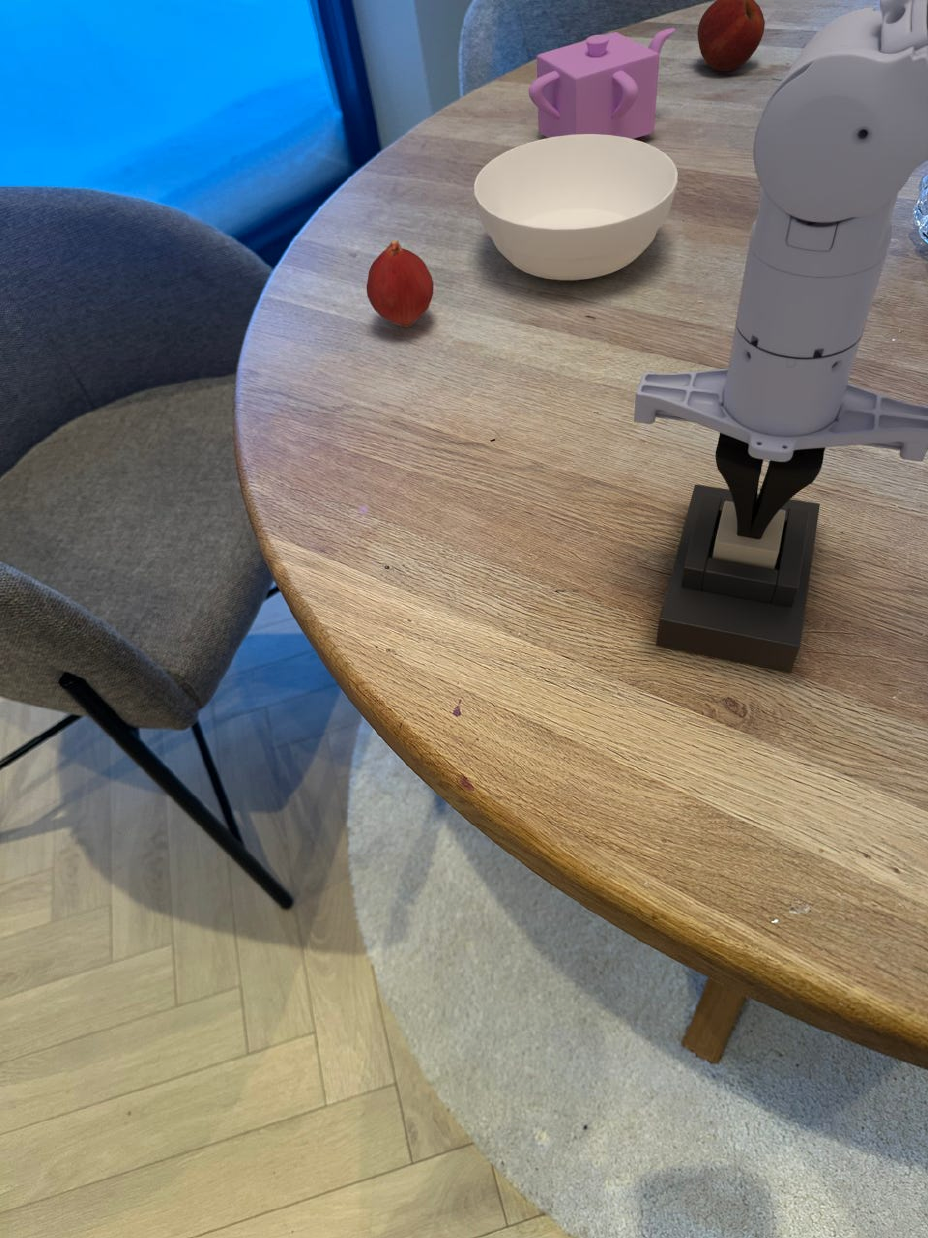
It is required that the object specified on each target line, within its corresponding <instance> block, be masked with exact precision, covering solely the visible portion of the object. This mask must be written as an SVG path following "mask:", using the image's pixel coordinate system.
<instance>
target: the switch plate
mask: <svg viewBox="0 0 928 1238" xmlns="http://www.w3.org/2000/svg"><path fill="white" fill-rule="evenodd" d="M758 495H759V493H757V498H758ZM725 501H730V502H733V499H732V495H731V493H730V490H729V488H728V489H727V488H722V487H717V486H716V487H715V486H710V485H704V484H703V485H701V484H694V487H693V490H692V495H691V498H690V502H689V506H688V509H687V514H686V517H685V521H684V525H683V529H682V532H681V535H680V540H679V543H678V548H677V551H676V555H675V559H674V562H673V566H672V569H671V573H670V577H669V581H668V585H667V589H666V593H665V596H664V600H663V604H662V608H661V611H660V616H659V619H658V627H657V635H656V643H655V645H656V646H658V647H662V648H668V649H672V650H676V651H681V652H686V653H691V654H695V655H700V656H706V657H710V658H714V659H719V660H720V659H721V660H724V661H728V662H734V663H739V664H743V665H749V666H752V667H757V668H762V669H767V670H770V671H776V672H781V673H786V674H792V671H793V669H794V667H795V666H794V665H795V663H796V660H797V658H798V655H799V652H800V649H801V645H802V637H803V631H804V623H805V616H806V607H807V600H808V595H809V593H808V592H809V586H810V581H811V579H810V578H811V574H812V573H811V571H812V565H813V556H814V550H815V544H816V536H817V529H818V521H819V514H820V506H821V504H820V503H816V502H810V501H804V500H798V499H792V498H791V499H790V500H789V501H787V502H786V503H785V505H784V506H783V507H782V508H781V509H780V510H785V511H786V513H785V519H784V525H783V531H782V537H781V543H780V548H779V554H778V557H777V561H776V564H775V568H774V569H770V568H764V567H759V566H753V565H748V564H742V563H736V562H731V561H725V560H720V559H714V558H712V556H713V551H714V546H715V541H716V536H717V532H718V528H719V523H720V519H721V515H722V510H723V506H724V502H725Z"/></svg>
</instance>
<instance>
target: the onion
mask: <svg viewBox="0 0 928 1238" xmlns="http://www.w3.org/2000/svg"><path fill="white" fill-rule="evenodd" d="M366 282H367V283H366V295H367V298H368V300H369V303H370V305H371V306H372V308H373V309H374V311H375V312H376V313H377V315H379V316H380V317H382V318H383V319H385V320H387V321H389V322H390V323H393V324H396V325H397V326H401V327H403V328H410V327H411V326H412V325H414V324H415V323H416V321H417V320H419V319H420V318H421V317H422V316H423V315H424V314H425V312H426V311H427V310H428V309H429V308H430V304H431V302H432V299H433V296H434V287H435V285H434V280H433V276H432V273H430V270H429V268H428V267H427V264H426V263H425V262H424V260H423V259H422V258H421V257H419V255H417V254H415V253H414V252H413V251H411V250H409V249H407V248H403V247H402V246H401V245H400V242H399V240H392V241H390V243H389V245H387V247H386V248H385V249H384V250H383V251H382V252H381V253H380V254H378V256H377V257H376V259H375V260H374V261H373V263H372V264H371V265H370V268H369V271H368V276H367V281H366Z"/></svg>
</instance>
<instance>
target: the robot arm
mask: <svg viewBox="0 0 928 1238" xmlns="http://www.w3.org/2000/svg"><path fill="white" fill-rule="evenodd" d="M755 130H756V131H755V134H754V138H753V139H754V140H753V148H752V149H753V151H752V152H753V154H752V156H753V165H754V166H753V167H754V170H755V174H756V178H757V180H758V183H759V184H760V190H759V196H758V208H757V215H756V218H755V220H754V222H753V223H752V226H751V230H750V234H749V235H750V236H749V241H748V249H747V254H746V260H745V265H744V270H743V271H744V272H743V277H742V283H741V289H740V295H739V301H738V307H737V313H736V318H735V323H734V324H735V325H734V331H733V337H732V344H731V349H730V354H729V360H728V366H727V368H720V369H719V368H717V369H708V370H697V371H696V370H695V371H685V372H671V373H669V372H666V373H665V372H648V371H644V372H643V373H642V375H641V378H640V380H639V384H638V386H637V389H636V392H635V399H634V400H635V401H634V415H633V422H635V423H638V424H645V425H646V424H647V425H652V424H654V423H655V421H656V419H657V418H658V419H666V420H672V421H673V420H674V421H681V422H687V423H688V422H689V423H694V424H696V425H699V426H702V427H704V428H707V429H710V430H713V431H715V432H718V433H719V435H718V439H717V440H718V441H717V445H716V448H715V453H714V454H715V455H714V456H715V464H716V468H717V471H718V472H719V473H720V475H721V476H722V478H723V480H724V481H725V483H726V485H727V487H728V490H730V493H731V495H732V499H733V502H734V506H735V511H736V517H737V535H738V536H742V537H748V538H754V539H761V538H762V536H763V534H764V532H765V530H766V528H767V526H768V525H769V523H770V522H771V520H772V519H773V518H774V516H775V515H776V514H777V513H778V511H779V510H780V509H781V508H782V507H783V506H784V505H785V503H786V502H787V501H789V500H790V499H792V498H793V497H795V495H797V494H798V493H800V491H802V490H803V489H805V488H806V487H808V486H810V485H811V484H813V482H815V480H816V478H817V477H818V476H819V474H820V472H821V470H822V467H823V464H824V455H825V450H826V448H835V447H848V446H849V447H850V446H864V447H873V448H878V449H879V448H881V449H887V450H896V451H899V454H898V455H899V457H900V458H901V459H902V460H907V461H915V462H923V461H924V460H925V457H926V455H927V453H928V405H923V404H918V403H917V404H916V403H912V402H908V401H905V400H902V399H901V400H900V399H897V398H893V397H891V396H888V395H885V394H883V393H880V392H876V391H873V390H870V389H867V388H864V387H861V386H857V385H855V384H851V383H849V380H850V378H851V374H852V370H853V367H854V364H855V361H856V356H857V355H858V351H859V347H860V344H861V342H862V338H863V334H864V331H865V328H866V323H867V320H868V318H869V314H870V311H871V308H872V304H873V302H874V298H875V294H876V291H877V288H878V285H879V283H880V278H881V276H882V271H883V268H884V265H885V262H886V258H887V256H888V252H889V248H890V244H891V242H892V235H893V229H892V228H893V227H892V216H893V212H894V210H895V206H896V203H897V200H898V196H899V192H900V191H901V190H902V189H903V188H904V186H905V185H906V183H907V182H908V181H909V178H910V177H911V175H912V174H913V173H914V171H915V170H917V168H918V167H920V166H921V165H922V164H924V163H925V162H928V0H879V9H878V10H877V9H876V6H866V7H863V8H859V9H855V10H851V11H849V12H847V13H844V14H842V15H840V16H838V17H836V18H835V19H832V20H831V21H830V22H828V23H827V24H825V25H824V26H823V27H822V28H821V29H819V30H818V31H817V32H816V33H815V34H814V35H813V36H812V37H811V38H810V40H808V42H807V44H806V45H804V48H803V49H802V50H801V52H800V53H799V55H798V56H797V58H796V59H795V61H794V62H793V64H792V65H791V67H790V68H789V70H788V71H787V72H786V74H785V75H784V77H783V79H782V80H781V81H780V82H779V84H778V86H777V88H776V89H775V90H774V91H773V93H772V94H771V96H770V98H769V99H768V100H767V103H766V105H765V107H764V109H763V111H762V113H761V117H760V119H759V122H758V124H757V127H756V129H755ZM764 460H765V461H769V462H768V466H767V469H766V473H765V475H764V478H763V481H762V483H761V486H760V490H759V483H760V477H761V473H762V468H763V463H764ZM758 491H759V493H758ZM757 494H759V495H758V498H757ZM749 534H750V535H749Z"/></svg>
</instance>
